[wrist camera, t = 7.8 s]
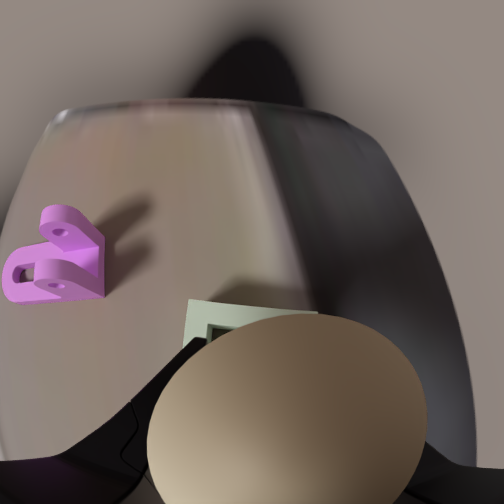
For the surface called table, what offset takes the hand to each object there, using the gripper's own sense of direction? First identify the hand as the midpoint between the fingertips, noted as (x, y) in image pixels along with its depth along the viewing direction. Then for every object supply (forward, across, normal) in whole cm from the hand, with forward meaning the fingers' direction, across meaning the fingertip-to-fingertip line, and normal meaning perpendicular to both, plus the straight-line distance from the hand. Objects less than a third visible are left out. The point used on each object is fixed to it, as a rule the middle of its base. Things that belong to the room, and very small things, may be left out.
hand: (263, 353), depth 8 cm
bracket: (+12, +19, +6) cm, 24 cm away
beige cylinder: (+4, 0, +6) cm, 7 cm away
